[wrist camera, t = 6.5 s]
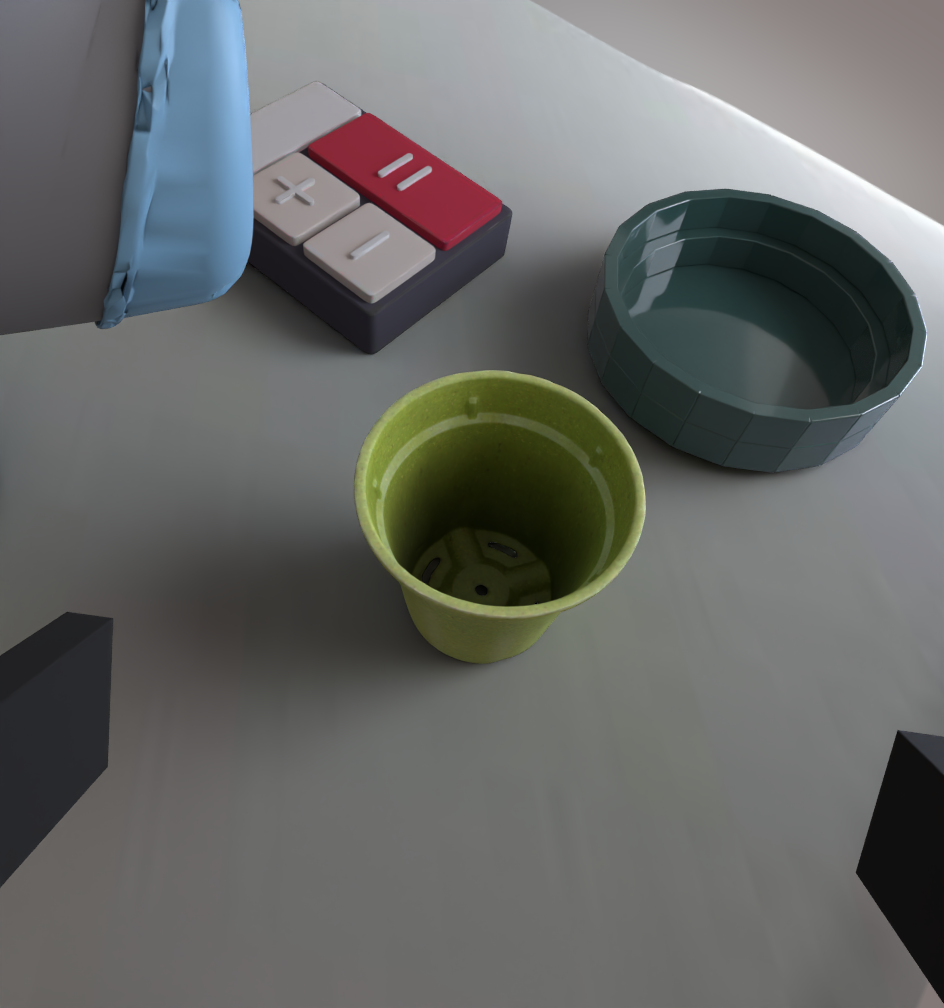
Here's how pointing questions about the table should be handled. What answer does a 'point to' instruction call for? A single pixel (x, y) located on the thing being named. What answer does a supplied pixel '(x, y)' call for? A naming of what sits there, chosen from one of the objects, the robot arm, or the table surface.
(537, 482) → the plant pot
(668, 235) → the bowl
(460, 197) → the calculator
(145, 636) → the table surface
